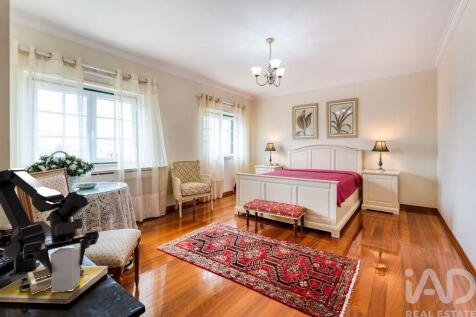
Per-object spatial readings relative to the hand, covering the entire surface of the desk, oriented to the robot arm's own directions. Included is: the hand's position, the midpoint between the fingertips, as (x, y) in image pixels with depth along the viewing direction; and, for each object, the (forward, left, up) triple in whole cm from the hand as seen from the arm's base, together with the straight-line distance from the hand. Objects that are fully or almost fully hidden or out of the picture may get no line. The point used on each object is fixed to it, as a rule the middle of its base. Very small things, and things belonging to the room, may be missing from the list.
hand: (66, 269), depth 67 cm
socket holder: (-9, -6, -7) cm, 13 cm away
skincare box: (-1, -1, -7) cm, 7 cm away
